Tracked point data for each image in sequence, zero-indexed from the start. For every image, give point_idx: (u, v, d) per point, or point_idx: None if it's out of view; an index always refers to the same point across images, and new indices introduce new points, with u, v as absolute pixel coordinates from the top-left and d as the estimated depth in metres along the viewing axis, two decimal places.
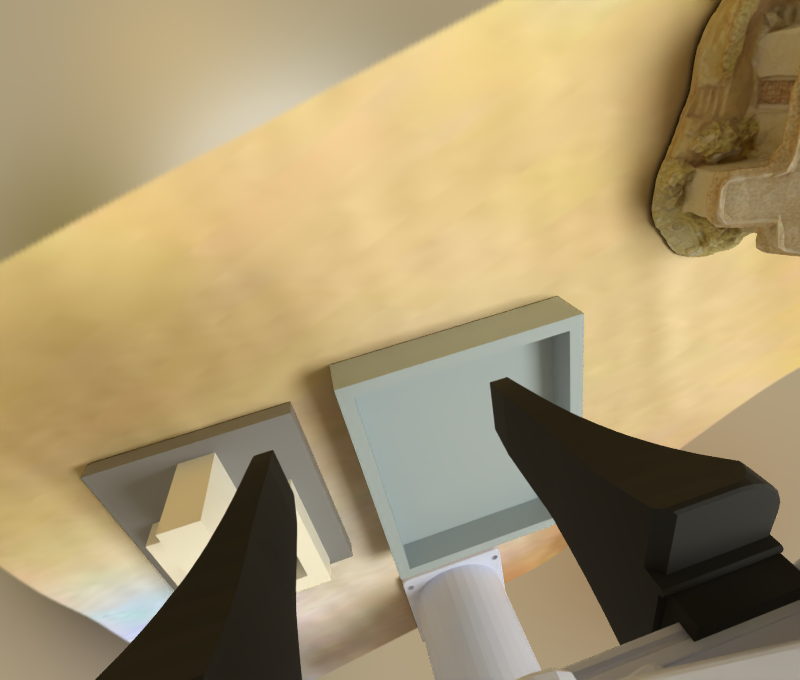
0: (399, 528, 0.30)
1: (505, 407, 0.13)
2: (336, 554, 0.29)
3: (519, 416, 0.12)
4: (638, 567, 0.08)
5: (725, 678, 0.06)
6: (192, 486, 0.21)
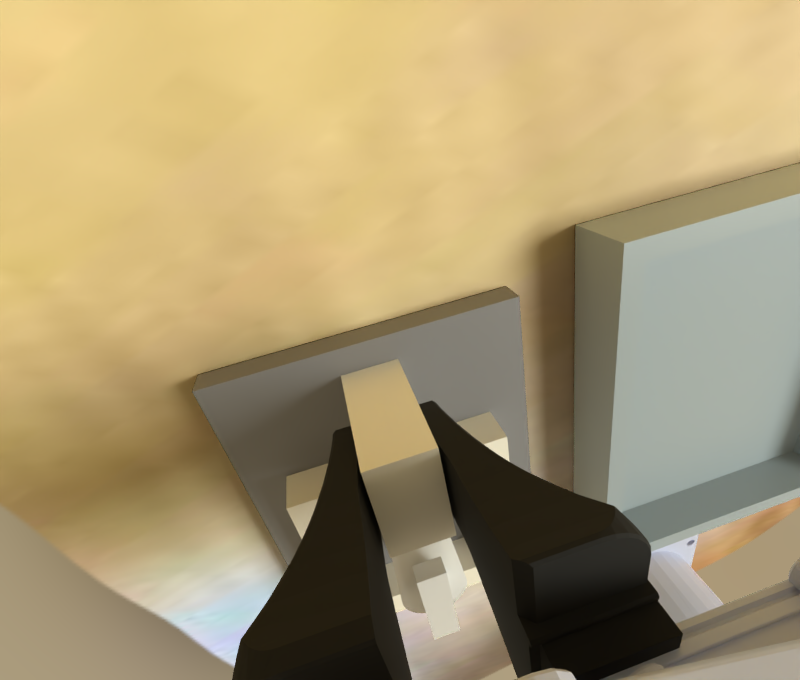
0: None
1: None
2: None
3: None
4: (515, 613, 0.08)
5: (725, 678, 0.06)
6: (387, 401, 0.13)
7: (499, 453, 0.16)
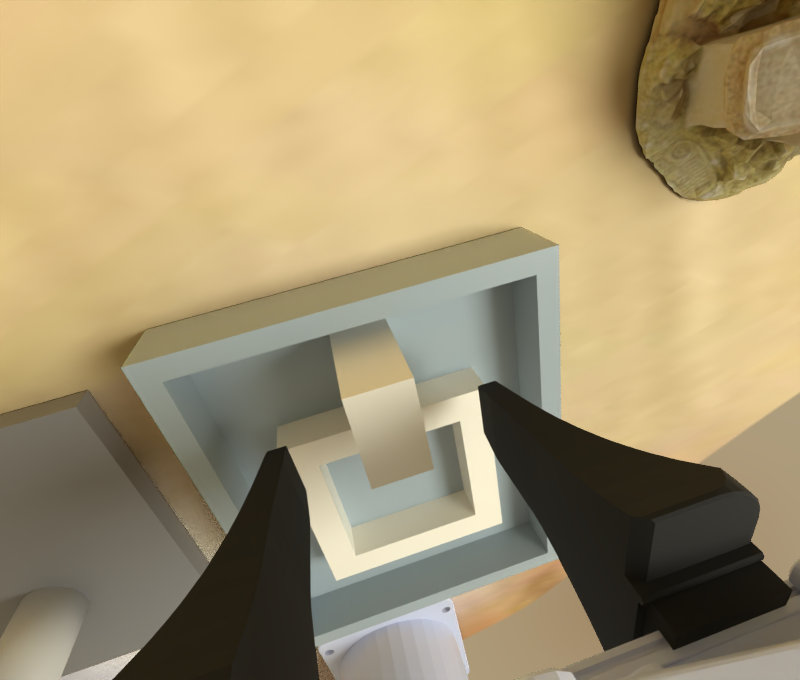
0: None
1: (492, 411, 0.13)
2: None
3: (506, 420, 0.12)
4: (619, 574, 0.08)
5: (725, 678, 0.06)
6: (369, 344, 0.13)
7: (479, 404, 0.16)
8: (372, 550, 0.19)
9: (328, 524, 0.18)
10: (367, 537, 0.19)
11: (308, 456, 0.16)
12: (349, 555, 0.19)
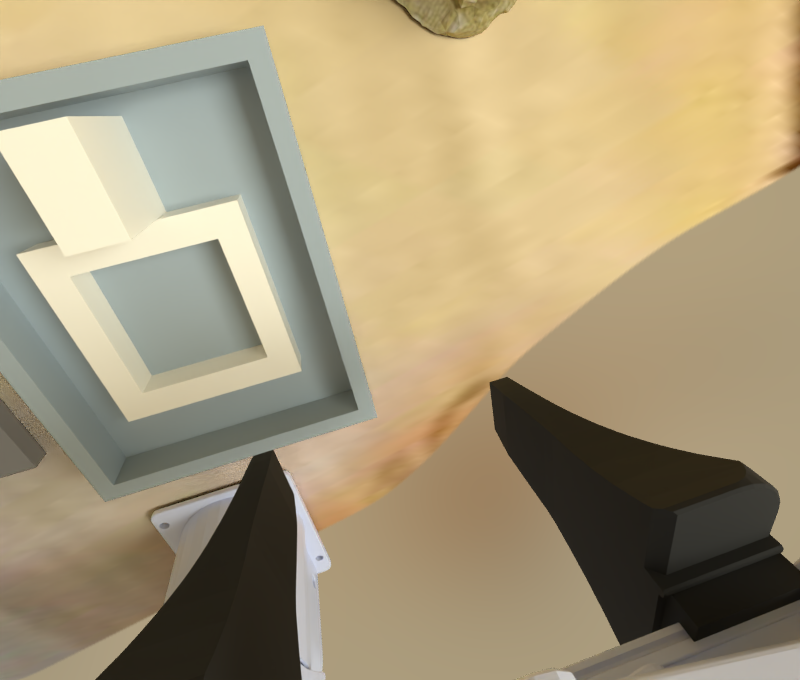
0: (109, 430, 0.21)
1: (505, 407, 0.13)
2: (5, 462, 0.20)
3: (519, 416, 0.12)
4: (638, 567, 0.08)
5: (725, 678, 0.06)
6: None
7: (234, 220, 0.17)
8: (160, 388, 0.19)
9: (101, 350, 0.18)
10: (161, 380, 0.20)
11: (54, 263, 0.16)
12: (135, 392, 0.19)
